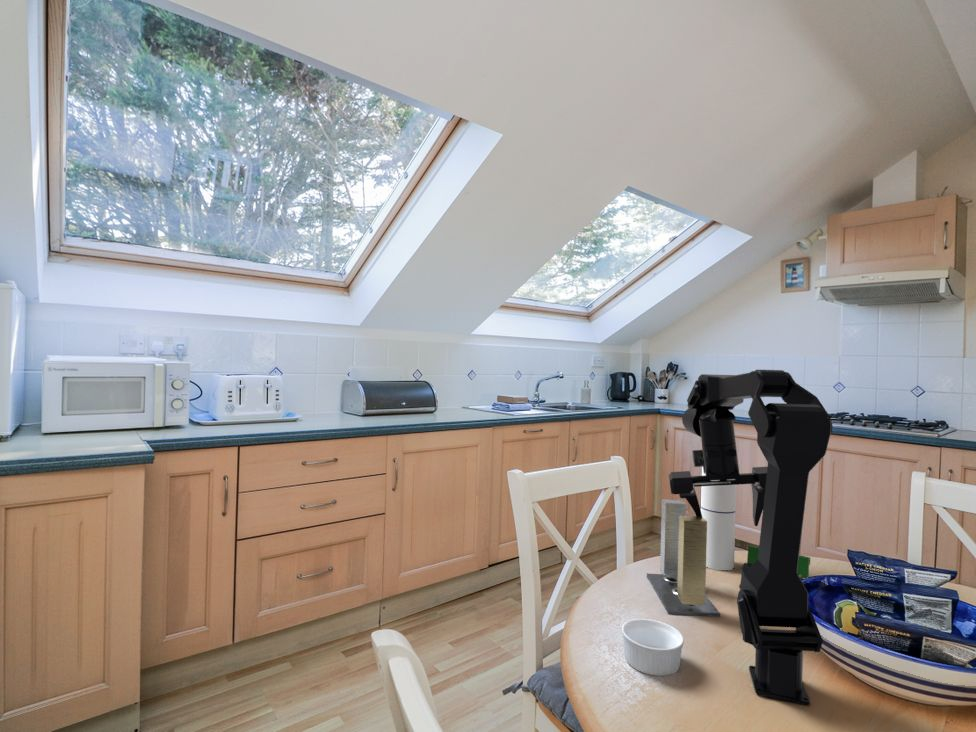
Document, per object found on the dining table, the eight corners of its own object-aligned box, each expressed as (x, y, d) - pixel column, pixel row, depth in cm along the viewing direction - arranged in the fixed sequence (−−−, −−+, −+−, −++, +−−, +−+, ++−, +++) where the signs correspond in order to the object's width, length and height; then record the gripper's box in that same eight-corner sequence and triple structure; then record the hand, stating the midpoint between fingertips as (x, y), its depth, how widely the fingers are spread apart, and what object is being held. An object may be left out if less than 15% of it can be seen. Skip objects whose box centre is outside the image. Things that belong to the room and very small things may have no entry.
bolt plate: (720, 616, 92) (722, 523, 92) (668, 613, 92) (670, 521, 92) (690, 578, 108) (692, 499, 108) (646, 576, 109) (648, 497, 109)
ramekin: (683, 653, 80) (684, 625, 80) (682, 686, 72) (683, 654, 72) (624, 640, 83) (625, 613, 83) (616, 670, 75) (617, 640, 75)
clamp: (798, 599, 110) (819, 562, 109) (794, 602, 105) (817, 564, 104) (742, 563, 117) (762, 528, 117) (737, 564, 112) (758, 528, 112)
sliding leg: (704, 609, 92) (707, 521, 92) (681, 607, 93) (684, 520, 93) (699, 601, 95) (701, 516, 95) (677, 600, 96) (679, 515, 96)
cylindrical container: (702, 568, 114) (705, 455, 114) (697, 556, 121) (699, 450, 121) (737, 572, 112) (740, 457, 112) (730, 560, 119) (732, 452, 119)
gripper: (764, 430, 100) (774, 509, 100) (663, 437, 105) (673, 513, 106) (779, 442, 89) (790, 531, 90) (665, 450, 95) (676, 533, 95)
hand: (728, 526), depth 95 cm, fingers open, 9 cm apart
